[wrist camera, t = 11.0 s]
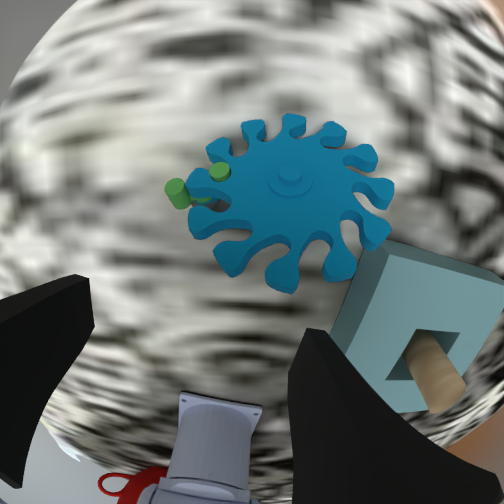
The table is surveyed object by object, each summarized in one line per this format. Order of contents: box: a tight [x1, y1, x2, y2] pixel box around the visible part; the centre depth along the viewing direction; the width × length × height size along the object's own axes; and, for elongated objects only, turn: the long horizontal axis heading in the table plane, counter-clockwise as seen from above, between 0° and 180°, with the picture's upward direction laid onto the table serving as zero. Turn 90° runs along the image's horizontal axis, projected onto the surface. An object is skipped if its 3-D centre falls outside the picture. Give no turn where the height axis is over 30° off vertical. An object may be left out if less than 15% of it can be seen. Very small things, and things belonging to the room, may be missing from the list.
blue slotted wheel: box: [165, 113, 394, 294], centre depth 14 cm, size 11×6×10 cm
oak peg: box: [401, 329, 466, 413], centre depth 16 cm, size 3×3×8 cm
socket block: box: [330, 239, 504, 413], centre depth 18 cm, size 14×14×4 cm
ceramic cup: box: [98, 467, 168, 504], centre depth 28 cm, size 13×17×10 cm
